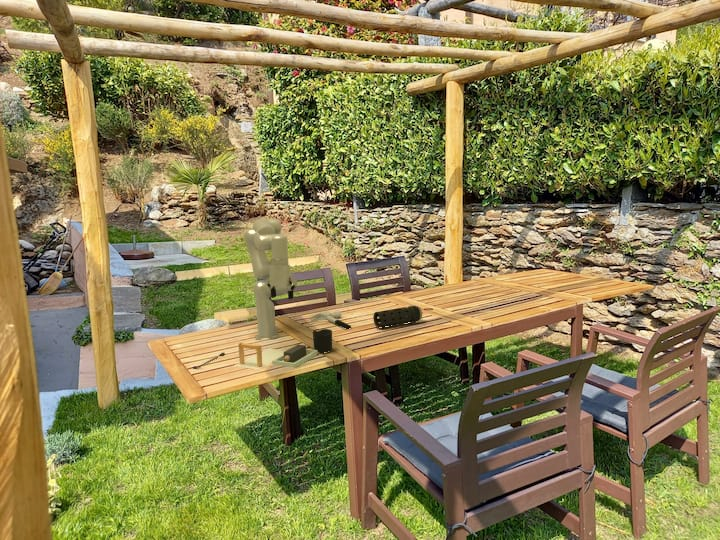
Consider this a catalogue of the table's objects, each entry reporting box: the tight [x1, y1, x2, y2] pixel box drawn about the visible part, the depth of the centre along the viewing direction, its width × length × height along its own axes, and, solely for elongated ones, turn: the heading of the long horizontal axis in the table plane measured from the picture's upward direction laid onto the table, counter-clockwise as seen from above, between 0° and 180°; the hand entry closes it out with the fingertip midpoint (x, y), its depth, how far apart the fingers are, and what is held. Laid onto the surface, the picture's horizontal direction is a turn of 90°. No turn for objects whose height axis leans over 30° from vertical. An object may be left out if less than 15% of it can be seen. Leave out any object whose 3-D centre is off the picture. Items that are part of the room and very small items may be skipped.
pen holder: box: [312, 328, 333, 353], centre depth 231 cm, size 9×9×10 cm
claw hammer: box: [309, 310, 352, 330], centre depth 279 cm, size 5×22×30 cm
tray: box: [271, 348, 319, 369], centre depth 219 cm, size 20×12×2 cm, turn 155°
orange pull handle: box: [237, 342, 263, 367], centre depth 212 cm, size 2×11×9 cm, turn 65°
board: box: [233, 348, 286, 371], centre depth 221 cm, size 26×14×1 cm, turn 155°
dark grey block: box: [283, 344, 307, 363], centre depth 219 cm, size 14×4×5 cm, turn 154°
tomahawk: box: [192, 352, 226, 370], centre depth 221 cm, size 21×7×1 cm, turn 157°
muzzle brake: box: [372, 305, 423, 329], centre depth 273 cm, size 10×28×10 cm, turn 117°
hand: (282, 298), depth 223 cm, fingers open, 9 cm apart
